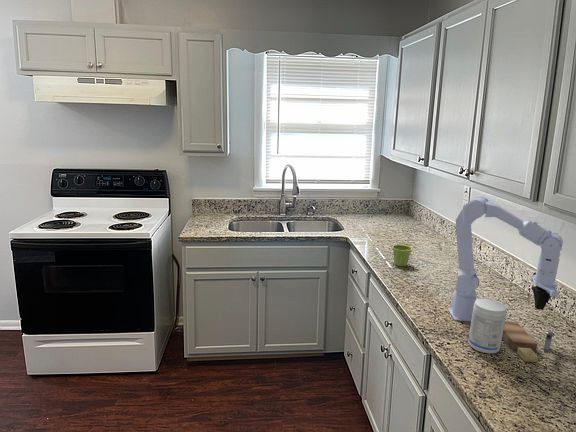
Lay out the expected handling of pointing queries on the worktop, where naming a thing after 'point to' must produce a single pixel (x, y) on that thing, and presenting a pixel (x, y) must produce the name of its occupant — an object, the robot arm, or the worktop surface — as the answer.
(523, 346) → the body
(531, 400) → the worktop surface
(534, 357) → the yellow rectangular block
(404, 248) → the plant pot
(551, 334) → the lever
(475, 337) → the supplement tub
